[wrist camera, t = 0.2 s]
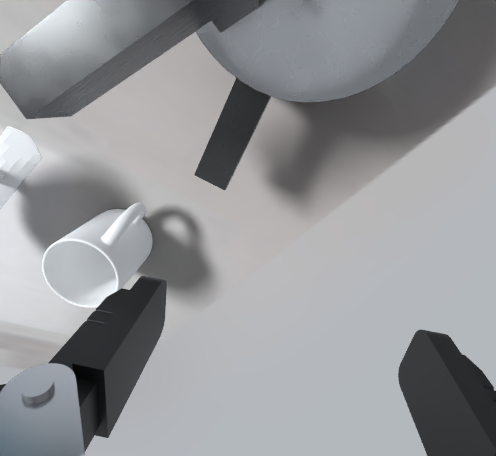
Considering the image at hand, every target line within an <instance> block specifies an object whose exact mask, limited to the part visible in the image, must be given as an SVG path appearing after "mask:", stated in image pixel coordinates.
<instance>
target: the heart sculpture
mask: <svg viewBox="0 0 496 456" xmlns="http://www.w3.org/2000/svg"><path fill="white" fill-rule="evenodd" d="M41 158H42V157H41V155H40V153H39V151H38V149H37V147H36V145H35V143H34V142H33V140H32V139H31V138H30V136H28V135H27V134H25V133H24V132H22V131H20V130H17V129H15V128H12V127H9V126H8V127H7V128H6V129H5V131H4V132H3V133H2V135H1V136H0V209H1V207H2V206H3V205H4V204H5V202H6V201H7V200H8V199H9V197H10V196H11V195H12V194H13V193H14V191H15V190H16V189H17V188H18V186H19V185H20V184H21V183H22V181H23V180H24V179H25V178H26V176H27V175H28V174H29V173H30V172H31V170H32V169H33V168H34V167H35V165H36V164H37V163H38V162H39V160H40V159H41Z"/></svg>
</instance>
